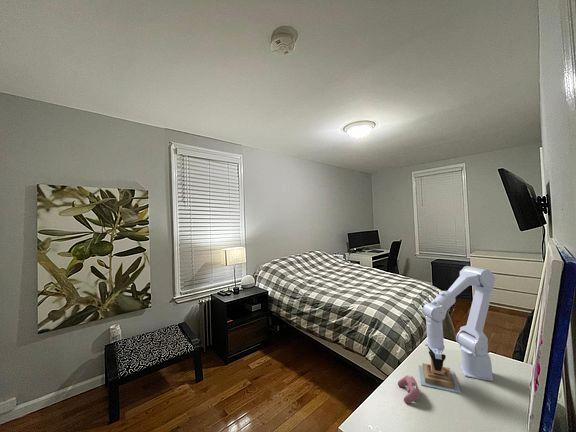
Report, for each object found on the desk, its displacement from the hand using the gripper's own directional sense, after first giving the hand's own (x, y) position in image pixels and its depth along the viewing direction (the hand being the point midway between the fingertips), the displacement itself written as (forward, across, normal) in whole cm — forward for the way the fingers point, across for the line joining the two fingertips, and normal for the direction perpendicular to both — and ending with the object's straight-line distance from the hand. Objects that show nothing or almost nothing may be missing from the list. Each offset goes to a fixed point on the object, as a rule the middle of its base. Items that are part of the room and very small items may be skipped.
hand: (437, 366), depth 97 cm
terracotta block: (+2, 0, 0) cm, 2 cm away
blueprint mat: (+5, 0, 0) cm, 5 cm away
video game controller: (+5, +13, -11) cm, 18 cm away
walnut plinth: (+5, 0, 0) cm, 5 cm away
